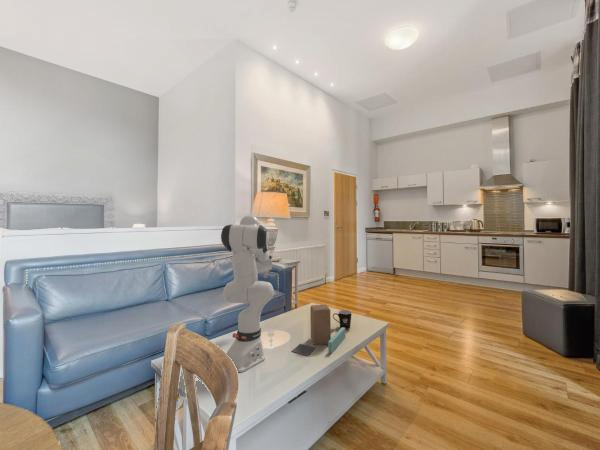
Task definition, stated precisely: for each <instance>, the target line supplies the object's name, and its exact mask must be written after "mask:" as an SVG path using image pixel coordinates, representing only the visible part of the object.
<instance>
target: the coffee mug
mask: <svg viewBox="0 0 600 450" xmlns="http://www.w3.org/2000/svg"><path fill="white" fill-rule="evenodd" d="M337 312H338V313H337ZM337 312H336V313H333V315H332V317H333V319H334V321H336V322H338V323H339V326H340V329H341V328H342V327H343V328H345V330H349V329H350V328H351V322H352V321H351V320H352V315H353V314H352V311H351V310H350V309H340V310H338V311H337ZM335 315H337V316H338V320H337V319H336V318H335ZM348 328H349V329H348Z"/></svg>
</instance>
